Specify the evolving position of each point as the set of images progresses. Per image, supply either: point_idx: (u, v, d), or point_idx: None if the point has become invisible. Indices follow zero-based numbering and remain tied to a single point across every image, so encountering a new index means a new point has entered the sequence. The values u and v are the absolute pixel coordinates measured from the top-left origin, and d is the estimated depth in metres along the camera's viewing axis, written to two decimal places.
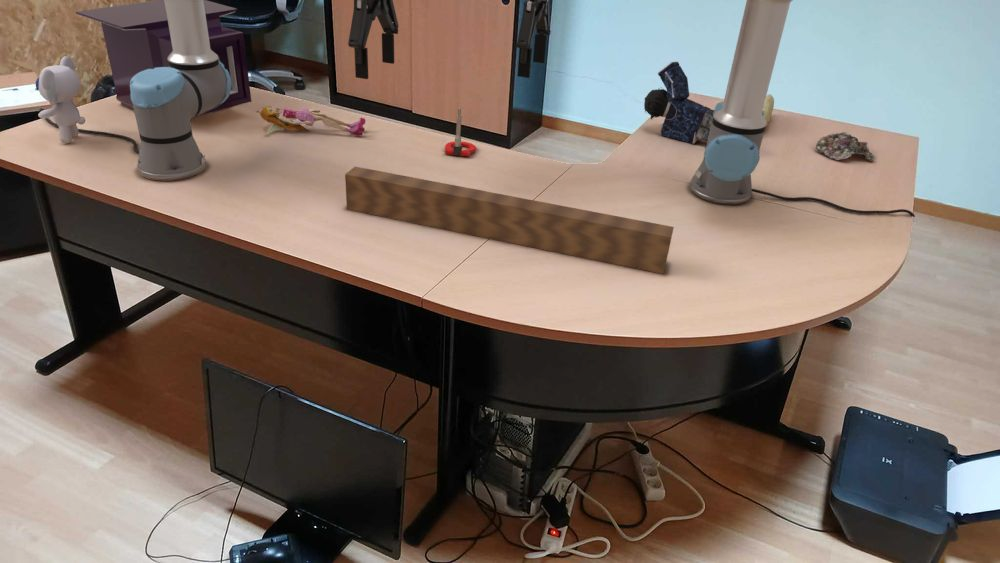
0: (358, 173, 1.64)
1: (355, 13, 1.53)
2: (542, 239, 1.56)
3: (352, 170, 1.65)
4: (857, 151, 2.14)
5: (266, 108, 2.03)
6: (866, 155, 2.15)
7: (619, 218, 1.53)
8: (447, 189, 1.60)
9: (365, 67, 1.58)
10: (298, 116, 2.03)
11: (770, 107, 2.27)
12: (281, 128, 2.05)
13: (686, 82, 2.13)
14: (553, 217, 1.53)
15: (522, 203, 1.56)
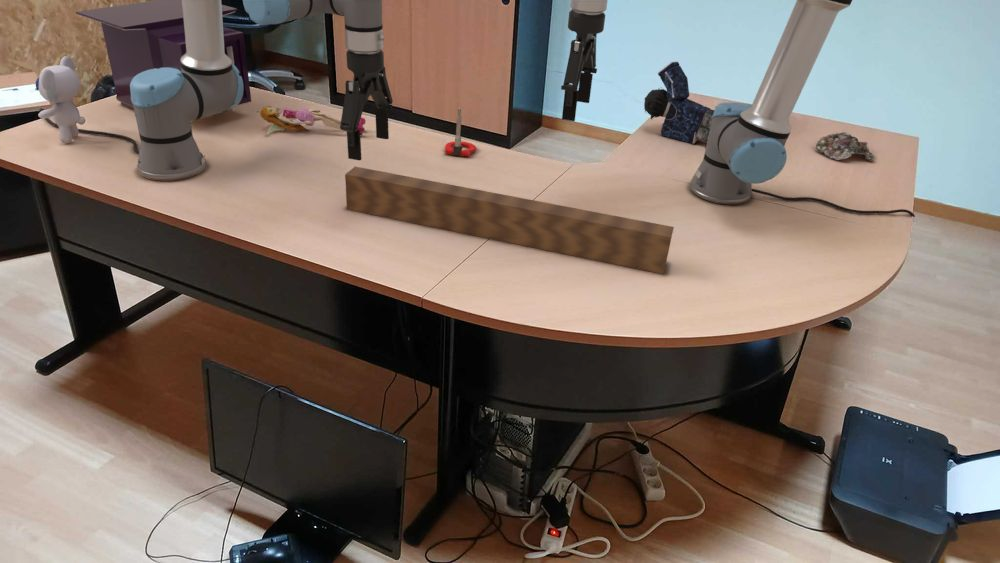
0: (358, 173, 1.64)
1: (347, 96, 1.48)
2: (542, 239, 1.56)
3: (352, 170, 1.65)
4: (857, 151, 2.14)
5: (266, 108, 2.03)
6: (866, 155, 2.15)
7: (619, 218, 1.53)
8: (447, 189, 1.60)
9: (358, 149, 1.53)
10: (298, 116, 2.03)
11: None
12: (281, 128, 2.05)
13: (686, 82, 2.13)
14: (553, 217, 1.53)
15: (522, 203, 1.56)
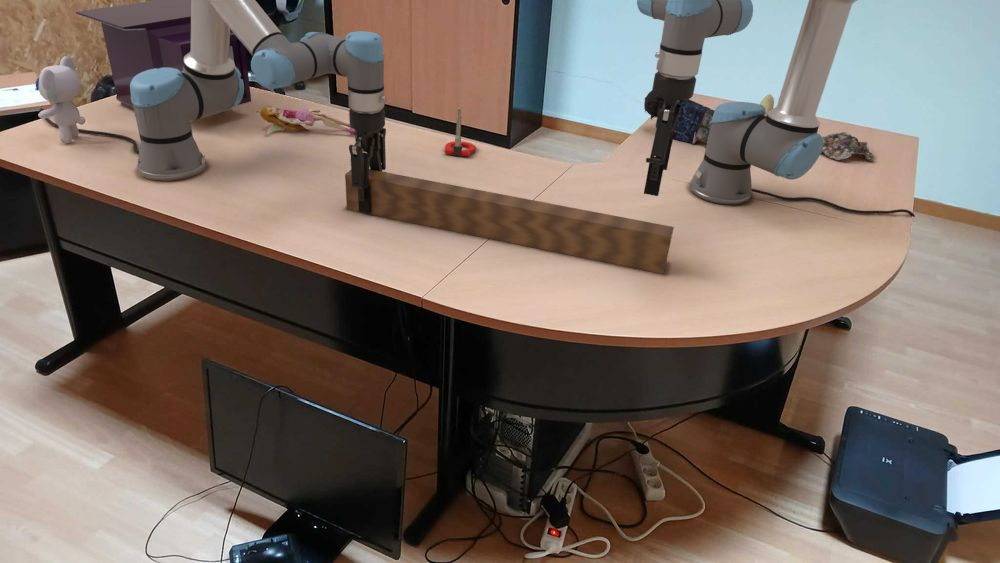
0: None
1: (352, 159, 1.56)
2: (542, 239, 1.56)
3: None
4: (857, 151, 2.14)
5: (266, 108, 2.03)
6: (866, 155, 2.15)
7: (619, 218, 1.53)
8: (447, 189, 1.60)
9: (368, 203, 1.64)
10: (298, 116, 2.03)
11: (770, 107, 2.27)
12: (281, 128, 2.05)
13: None
14: (553, 217, 1.53)
15: (522, 203, 1.56)
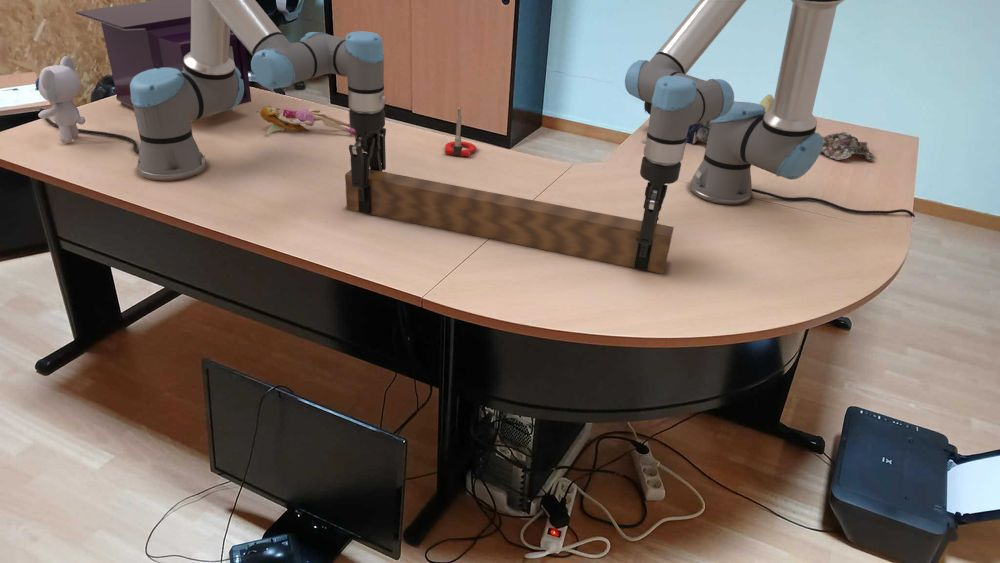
0: None
1: (352, 159, 1.56)
2: (542, 239, 1.56)
3: None
4: (857, 151, 2.14)
5: (266, 108, 2.03)
6: (866, 155, 2.15)
7: (619, 218, 1.53)
8: (447, 189, 1.60)
9: (368, 203, 1.64)
10: (298, 116, 2.03)
11: (770, 107, 2.27)
12: (281, 128, 2.05)
13: None
14: (553, 217, 1.53)
15: (522, 203, 1.56)
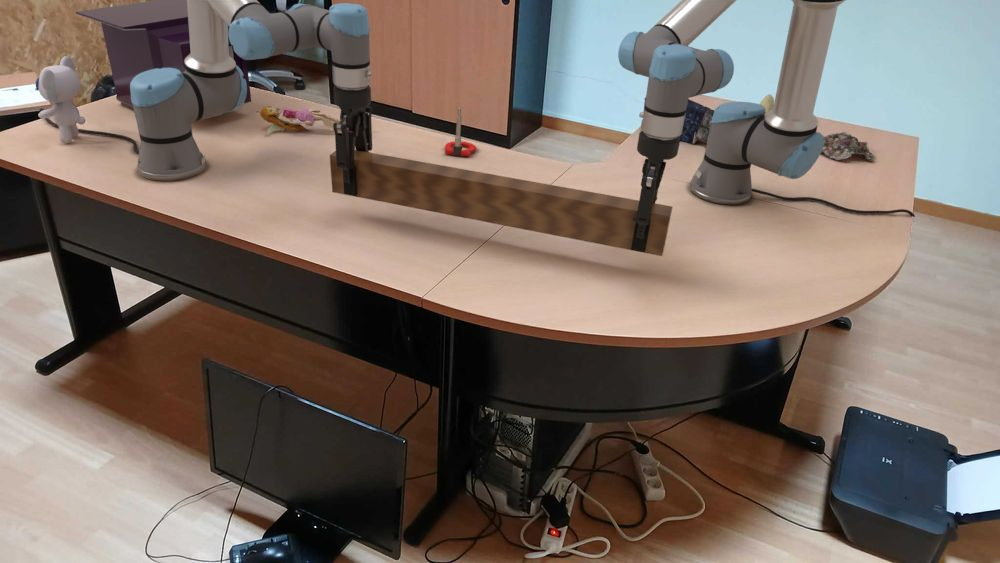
0: None
1: (337, 138, 1.50)
2: (535, 221, 1.49)
3: None
4: (857, 151, 2.14)
5: (266, 108, 2.03)
6: (866, 155, 2.15)
7: (615, 198, 1.46)
8: (436, 169, 1.53)
9: (354, 185, 1.58)
10: (298, 116, 2.03)
11: (770, 107, 2.27)
12: (281, 128, 2.05)
13: None
14: (546, 197, 1.46)
15: (514, 183, 1.49)
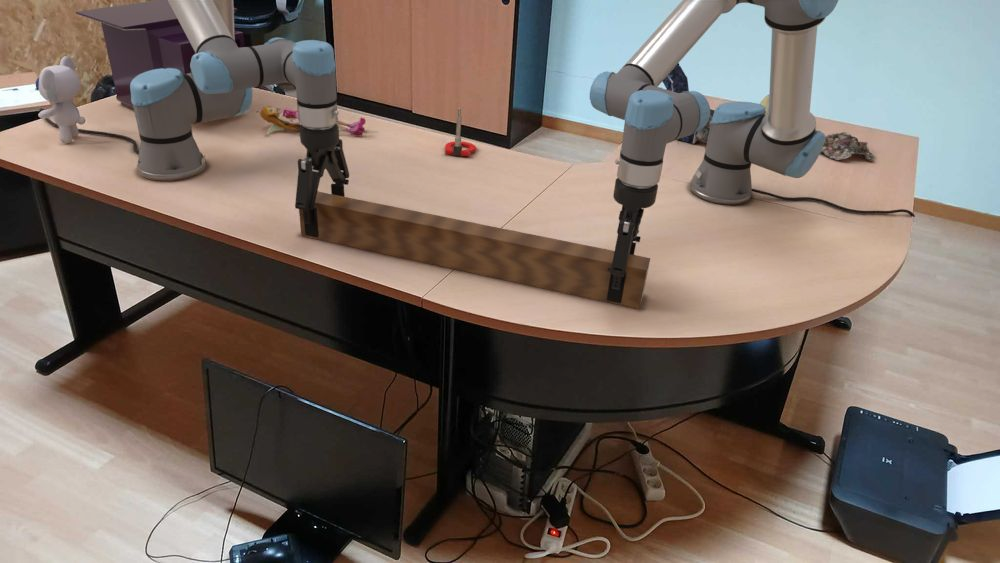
0: None
1: (300, 175, 1.42)
2: (509, 270, 1.44)
3: None
4: (857, 151, 2.14)
5: (266, 108, 2.03)
6: (866, 155, 2.15)
7: (591, 248, 1.41)
8: (408, 215, 1.48)
9: (315, 226, 1.49)
10: None
11: None
12: (281, 128, 2.05)
13: (686, 82, 2.13)
14: (520, 247, 1.41)
15: (488, 231, 1.44)
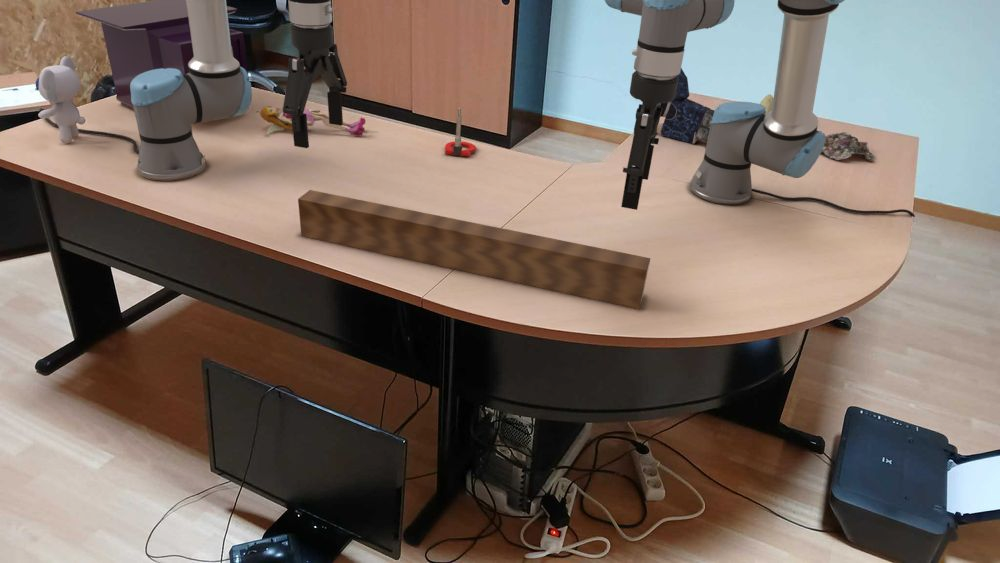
0: (312, 198, 1.52)
1: (290, 75, 1.32)
2: (509, 270, 1.44)
3: (306, 195, 1.53)
4: (857, 151, 2.14)
5: (266, 108, 2.03)
6: (866, 155, 2.15)
7: (591, 248, 1.41)
8: (408, 215, 1.48)
9: (304, 135, 1.37)
10: None
11: (770, 107, 2.27)
12: (281, 128, 2.05)
13: (686, 82, 2.13)
14: (520, 247, 1.41)
15: (488, 231, 1.44)
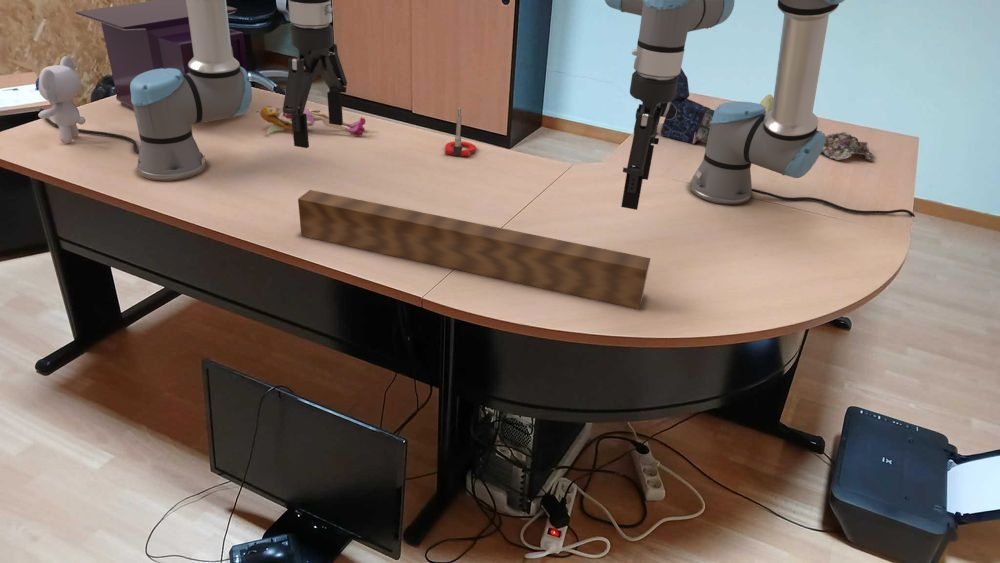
0: (312, 198, 1.52)
1: (290, 75, 1.32)
2: (509, 270, 1.44)
3: (306, 195, 1.53)
4: (857, 151, 2.14)
5: (266, 108, 2.03)
6: (866, 155, 2.15)
7: (591, 248, 1.41)
8: (408, 215, 1.48)
9: (304, 135, 1.37)
10: None
11: (770, 107, 2.27)
12: (281, 128, 2.05)
13: (686, 82, 2.13)
14: (520, 247, 1.41)
15: (488, 231, 1.44)
